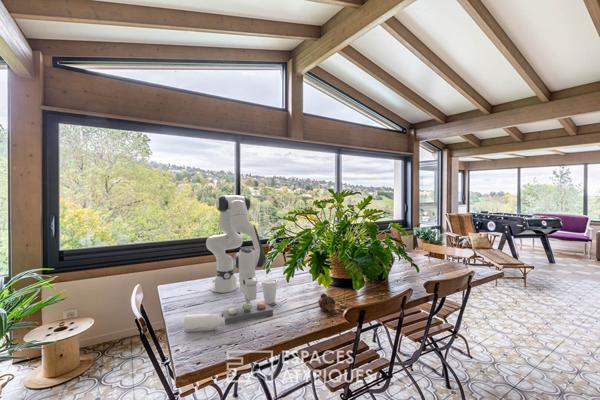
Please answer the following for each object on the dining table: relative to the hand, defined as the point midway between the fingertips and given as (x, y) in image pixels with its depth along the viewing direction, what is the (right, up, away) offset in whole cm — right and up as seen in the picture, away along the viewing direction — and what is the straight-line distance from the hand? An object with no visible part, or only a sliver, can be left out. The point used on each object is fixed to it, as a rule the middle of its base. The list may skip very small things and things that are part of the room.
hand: (247, 303), depth 156 cm
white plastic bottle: (-19, -8, -15) cm, 25 cm away
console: (0, -7, 0) cm, 7 cm away
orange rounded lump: (+7, -7, +4) cm, 10 cm away
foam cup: (+10, -7, +21) cm, 24 cm away
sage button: (0, -6, 0) cm, 6 cm away
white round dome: (-7, -7, -3) cm, 11 cm away
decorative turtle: (+44, -7, +7) cm, 45 cm away
